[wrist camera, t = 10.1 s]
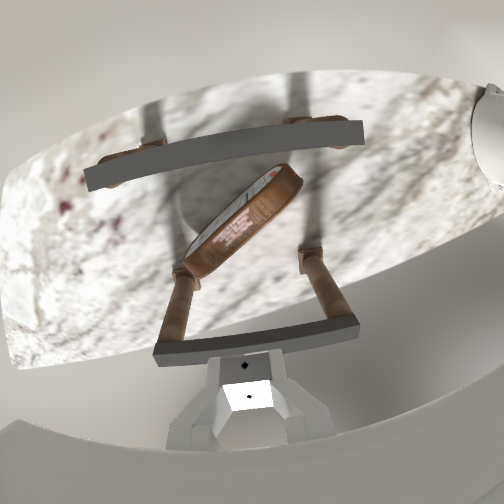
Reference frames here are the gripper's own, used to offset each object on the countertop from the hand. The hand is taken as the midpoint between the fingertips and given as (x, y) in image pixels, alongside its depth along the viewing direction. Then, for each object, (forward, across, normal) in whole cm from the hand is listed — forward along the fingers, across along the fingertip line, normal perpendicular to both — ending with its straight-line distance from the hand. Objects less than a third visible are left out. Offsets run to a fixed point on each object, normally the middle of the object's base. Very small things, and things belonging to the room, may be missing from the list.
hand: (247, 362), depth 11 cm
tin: (+23, 0, 0) cm, 23 cm away
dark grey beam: (+10, 0, +8) cm, 13 cm away
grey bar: (+10, 0, -8) cm, 13 cm away
